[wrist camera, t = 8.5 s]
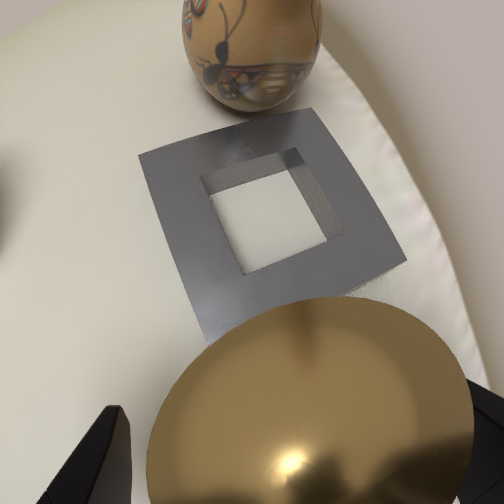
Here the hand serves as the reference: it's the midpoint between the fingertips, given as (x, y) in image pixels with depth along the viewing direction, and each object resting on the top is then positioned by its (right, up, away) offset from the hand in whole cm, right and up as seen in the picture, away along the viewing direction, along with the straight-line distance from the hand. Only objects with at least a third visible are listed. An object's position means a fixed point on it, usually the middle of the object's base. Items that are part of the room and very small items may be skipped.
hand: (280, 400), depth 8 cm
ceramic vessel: (-2, +17, +16) cm, 23 cm away
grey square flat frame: (0, +6, +12) cm, 13 cm away
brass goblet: (-1, -4, +8) cm, 9 cm away
